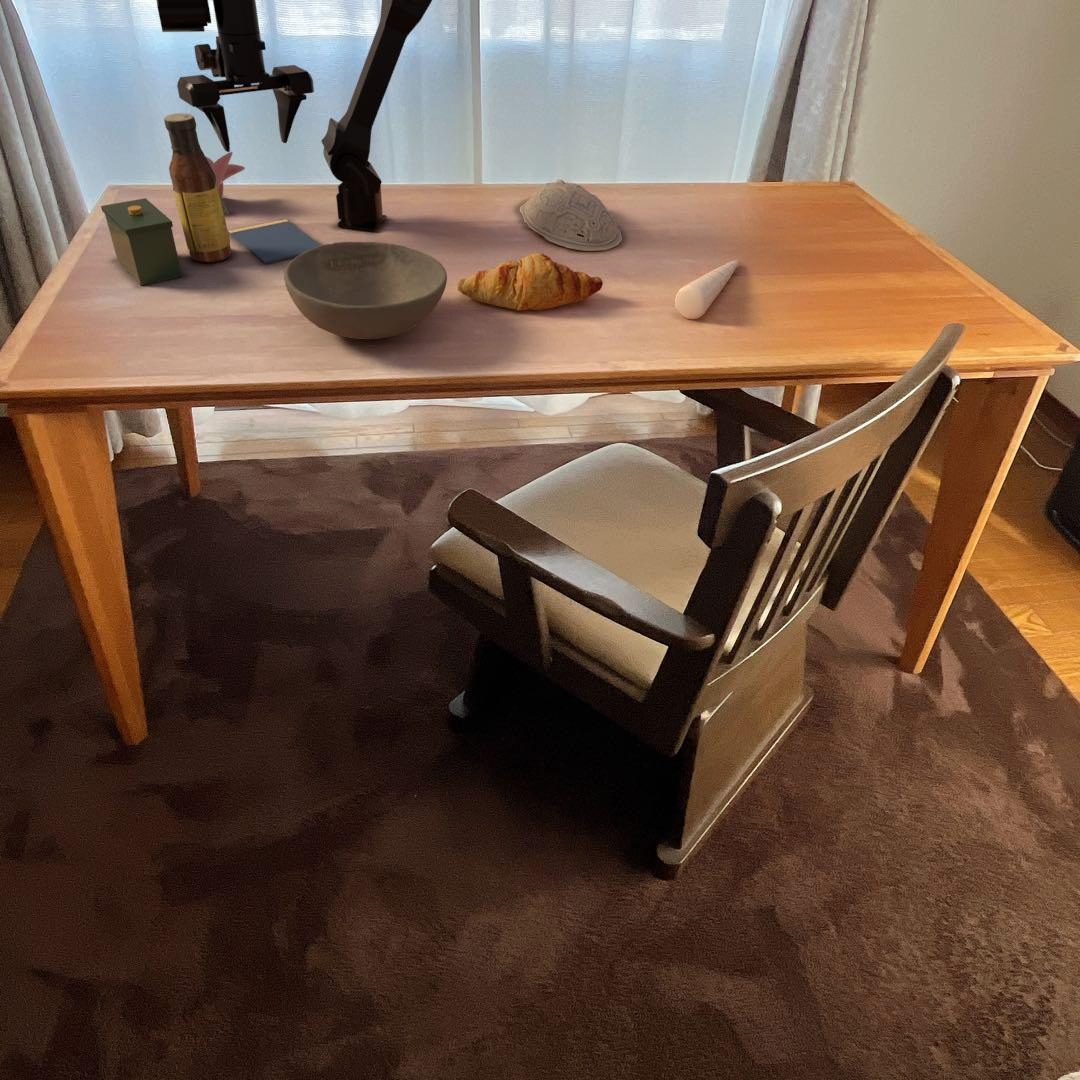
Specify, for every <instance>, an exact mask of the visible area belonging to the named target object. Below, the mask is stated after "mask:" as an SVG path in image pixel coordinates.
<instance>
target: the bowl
mask: <svg viewBox="0 0 1080 1080" xmlns="http://www.w3.org/2000/svg"><path fill="white" fill-rule="evenodd" d="M320 245H321V244H320ZM283 275H284V276H283V280H284V284H285V288H286V290H287V293H288V295H289V296H290V298H291V300H292V302H293V303H294V305H295V306H296V308H297V309H298V310H299V312H300V313H301V314H302V315H303V316H304V318H306V319H307V320H308V321H309V322H310V323H312V324H313V325H314V326H316V327H317V328H320V329H321V330H324V331H326V332H328V333H330V334H334V335H336V336H340V337H343V338H349V339H356V340H377V339H386V338H391V337H396V336H399V335H402V334H403V333H406V332H408V331H410V330H412V329H413V328H415V327H416V326H418V325H419V324H421V323H422V322H424V321H425V320H426V319H427V318H428V317H429V316H430V315H431V314H432V313H433V312H434V311H435V309H436V308H437V306H438V305H439V303H440V301H441V299H442V297H443V296H444V293H445V290H446V287H447V283H448V273H447V271H446V269H445V267H444V265H443V264H442V263H441V262H440V261H438V260H437V259H436V258H434V257H433V256H431V255H429V254H427V253H424V252H422V251H419V250H416V249H414V248H411V247H407V246H405V245H399V244H394V243H387V242H378V241H341V242H339V241H338V242H333V243H327V244H322V245H321V246H318V247H315V248H313V249H310V250H308V251H305V252H303V253H301V254H300V255H298V256H297V257H294V258H292V260H291V261H289V262H288V264H287V265H286V266H285V270H284V273H283Z"/></svg>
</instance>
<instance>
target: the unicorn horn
mask: <svg viewBox="0 0 1080 1080" xmlns="http://www.w3.org/2000/svg"><path fill="white" fill-rule="evenodd" d="M739 262H740V261H739V260H738V259H734V260H732V261H730V262H727V263H724V264H723V265H721V266H719V267H717V268H715V269H713V270H711V271H710V272H707V273H705V274H703V275H702V276H700V277H698V278H695V279H694V280H693V281H691V282H689V283H687V284H685V285H684V286H683V287H681V288H680V289H679V290H678V291H677V293H676V295H675V300H674V305H675V310H676V311H677V313H678V314H679V315H680V316H681V317H683V318H686V319H688V320H698V319H700V318H701V317H702V316H704V315H705V313H706V312H707V311H708V309H709V307H711V305H712V303H713V302H714V301H715V299H716V298H717V297H718V295H719V294H720V293H721V291H722V290H723V289H724V287H725V286H726V284H727V283H728V282H729V279H730V278H731V277H732V275H733V274H734V272H735V270H736V269H737V267H738V265H739Z"/></svg>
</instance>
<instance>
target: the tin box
mask: <svg viewBox="0 0 1080 1080" xmlns="http://www.w3.org/2000/svg"><path fill="white" fill-rule="evenodd" d="M100 208H101V211H102V213H103V214H104V216H105V219H106V222H107V227H108V231H109V234H110V238H111V241H112V246H113V249H114V252H115V256H116V260H117V262H118V263H119V264H120V265H121V266H122V267H123V268H124V270H125V271H127V272H128V274H129V275H130V276H131V277H132V278H133V279H134V280H135V281H136V282H137V283H138V284H139V285H140V286H146V285H151V284H154V283H160V282H164V281H169V280H172V279H177V278H182V277H183V274H182V269H181V265H180V260H179V255H178V251H177V246H176V242H175V238H174V233H173V229H172V228H173V227H174V224H173V221H172V220H171V219H170V218H169V217H168V216H167V215H166V214H164V212H162V211H161V210H160V209H159V208H158V207H156V206H155V204H153V203H152V202H151V201H150V200H148V199H147V198H138V199H133V200H127V201H121V202H116V203H109V204H104V205H101V206H100Z"/></svg>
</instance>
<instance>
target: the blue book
mask: <svg viewBox="0 0 1080 1080" xmlns="http://www.w3.org/2000/svg"><path fill="white" fill-rule="evenodd" d="M228 235H229V236H231V237H232V238H233V239H234V240H235V241H237V242H238V243H239V244H241V245H242V246H243V247H244V248H245V249H246V250H248V251H249V252H251V254H253V255H254V256H255V257H256V258H257V259H259V260H260V261H261V262H262V263H264V264H266V265H267V264H271V263H272V264H273V263H276V262H281V261H285V260H290V259H294V258H296V257H297V256H298V255H300V254H301V253H303V252H305V251H308V250H310V249H313V248H315V247H318V246H321V244H320V243H318V242H317V241H316V240H314V239H313V238H312V237H311V236H309V235H308V234H307V233H305V232H304V231H303V230H301V229H299V228H298V227H297V226H295V224H293V223H291V222H290V221H289V220H288V219H287V218H284V219H280V220H275V221H269V222H265V223H259V224H254V225H250V226H245V227H239V228H234V229H230V230H229V229H228Z"/></svg>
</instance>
